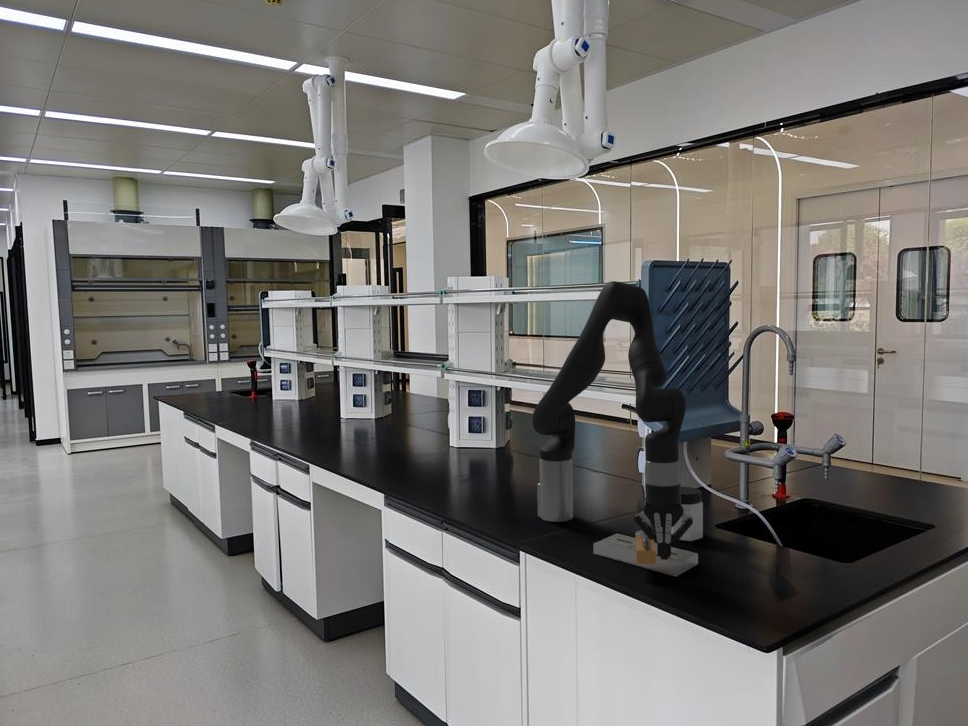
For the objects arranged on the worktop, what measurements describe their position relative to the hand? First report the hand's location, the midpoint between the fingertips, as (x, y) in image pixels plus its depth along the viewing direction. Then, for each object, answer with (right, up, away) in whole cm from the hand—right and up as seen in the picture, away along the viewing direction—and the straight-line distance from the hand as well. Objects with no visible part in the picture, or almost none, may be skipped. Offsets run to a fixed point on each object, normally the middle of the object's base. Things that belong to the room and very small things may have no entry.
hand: (664, 558), depth 150 cm
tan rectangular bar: (-3, -1, +6) cm, 7 cm away
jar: (+12, -2, +27) cm, 30 cm away
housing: (-2, -3, +12) cm, 12 cm away
